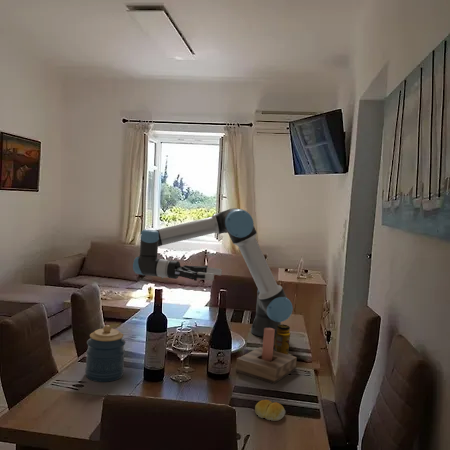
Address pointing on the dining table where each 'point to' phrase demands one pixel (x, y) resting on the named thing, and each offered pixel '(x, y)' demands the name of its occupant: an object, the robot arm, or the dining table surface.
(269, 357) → the peg
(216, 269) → the robot arm
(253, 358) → the socket block
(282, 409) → the bread roll
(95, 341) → the canister
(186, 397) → the dining table surface
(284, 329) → the condiment
